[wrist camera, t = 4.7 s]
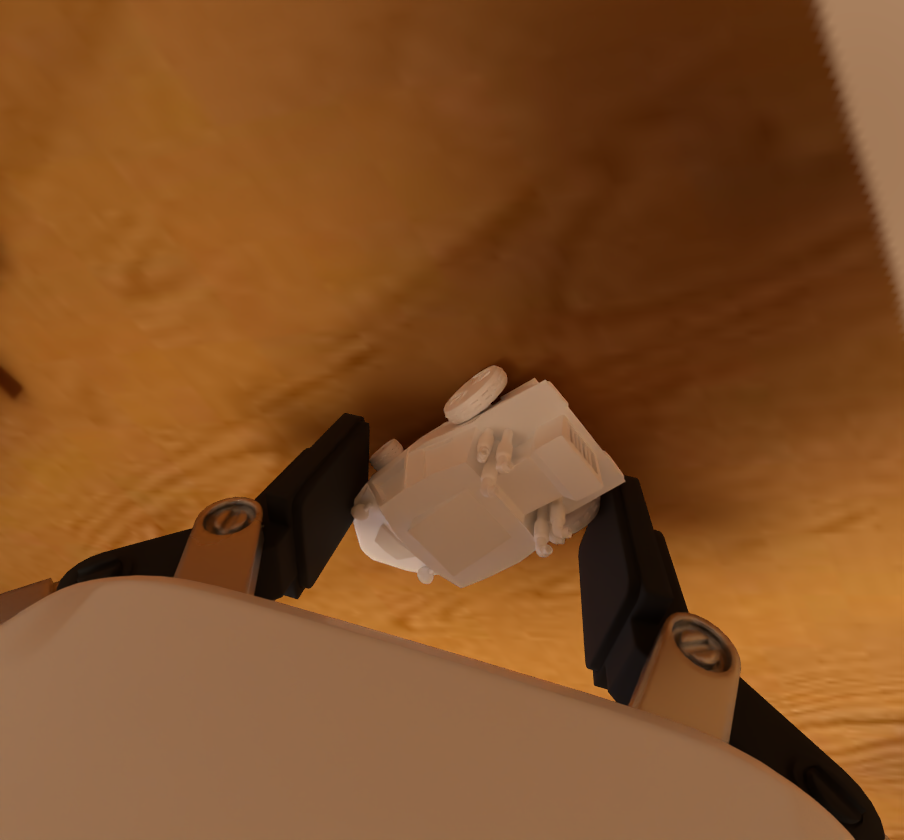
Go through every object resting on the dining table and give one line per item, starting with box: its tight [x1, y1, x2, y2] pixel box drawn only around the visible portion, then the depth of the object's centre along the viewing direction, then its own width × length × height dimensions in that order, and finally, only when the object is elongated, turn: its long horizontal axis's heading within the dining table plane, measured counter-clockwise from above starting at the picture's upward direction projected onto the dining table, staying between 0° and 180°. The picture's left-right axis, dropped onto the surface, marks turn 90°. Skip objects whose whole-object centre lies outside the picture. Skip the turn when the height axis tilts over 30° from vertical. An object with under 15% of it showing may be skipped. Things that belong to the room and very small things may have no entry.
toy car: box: [351, 365, 625, 588], centre depth 11 cm, size 5×8×4 cm, turn 131°
